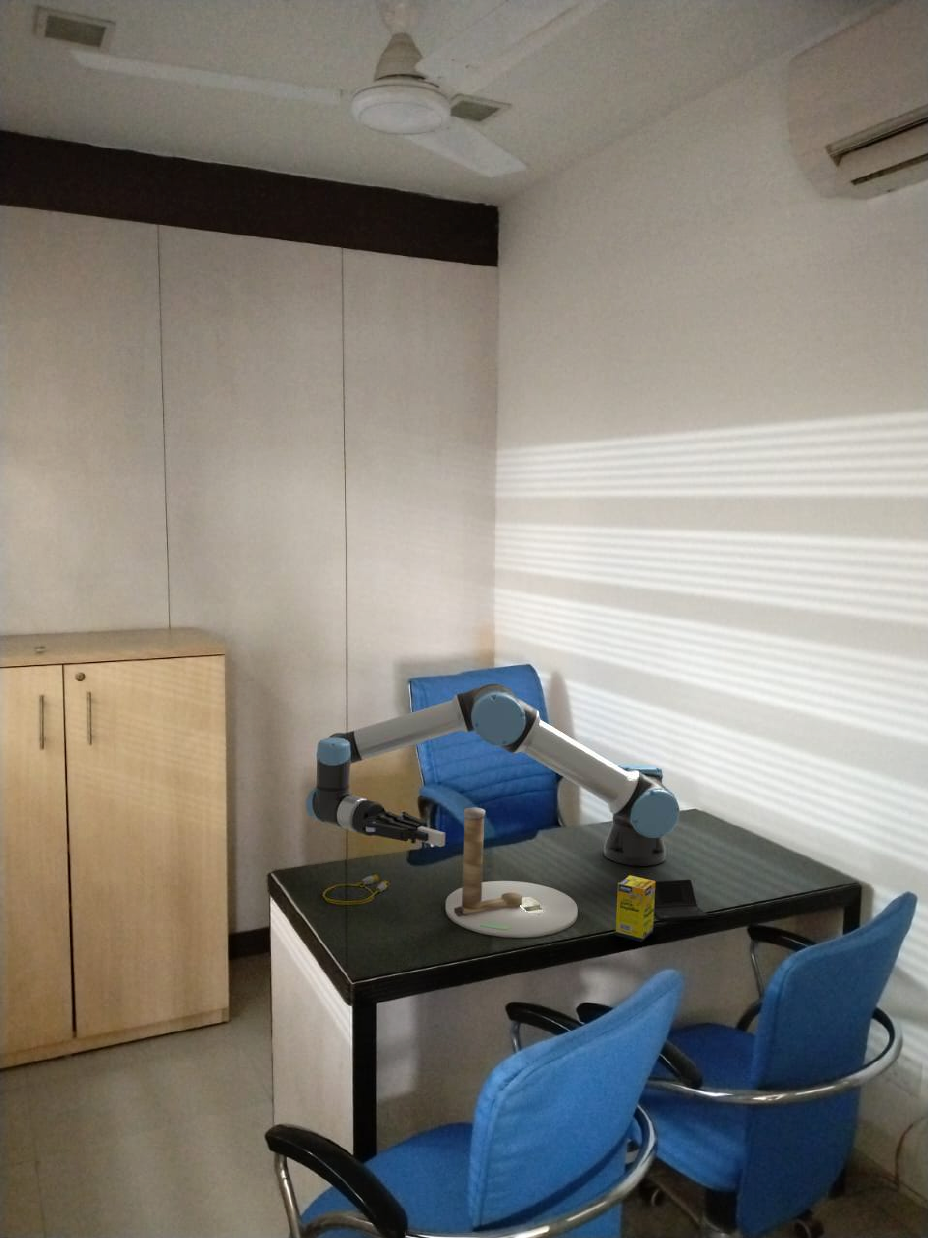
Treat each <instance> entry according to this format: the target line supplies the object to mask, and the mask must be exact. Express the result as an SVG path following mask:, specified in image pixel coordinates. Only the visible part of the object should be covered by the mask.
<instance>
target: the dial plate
mask: <svg viewBox="0 0 928 1238" xmlns="http://www.w3.org/2000/svg"><path fill="white" fill-rule="evenodd" d="M462 888H463V886H462V887H460V888H458V889H456V890H454V891H453V892H451V893H449V895H448V896H447V898H446V900H445V913H446V915H447V917H448V918H449V919H450V920H451V921H452V922H453V923H455V924H457V925H458V926H459V927H462V928H464V929H467V930H468V931H472V932H475V933H479V934H483V935H488V936H494V937H500V938H516V939H517V938H519V939H521V938H522V939H524V938H525V939H526V938H527V939H528V938H537V937H545V935H546V936H549V935H554V934H557V933H560V932H562V931H565V930H567V929H568V928H570V927H571V926H572V925H574V923H575V922H576V921H577V919H578V911H579V910H578V909H579V907H578V905H577V903H576V902H575V900H574V899H573V898H571V897H570V896H569V895H567V894H566V893H565V892H562V891H561V890H560V891H559V890H557V889H555V888H552V887H550V886H545V885H542V884H537V883H531V882H526V881H515V880H493V881H482V900H481V902H482V901H487V900H492V899H497V898H501V896H502V894H505V893H517V894H520V895H521V896H522V898H523V897H531V898H533V899H534V900H536V901H537V902H538V903H539V905H540V908H542V910H543V912H544V911H545V912H544V913H541V912H540V913H539V914H541V915H538V913H528V912H525V910H523V909H522V908H521V907H520V906H518V907H508V906H501V907H496V908H491V909H487V910H482V911H477V912H473V913H468V914H459V915H457V914H455V913H454V908H457V907H459V906H462ZM531 914H533V915H531ZM534 914H535V915H534Z"/></svg>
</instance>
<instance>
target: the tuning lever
mask: <svg viewBox="0 0 928 1238" xmlns="http://www.w3.org/2000/svg"><path fill="white" fill-rule="evenodd" d="M463 817H464V821H463V823H464V824H463V825H464V828H463V858H462V861H463V862H462V887H463V888H462V887H461V888H462V906H459V907H457V908H454V913H455V914H457V915H459V914H468V913H473V912H477V911H482V910H487V909H491V908H496V907H501V906H508V907H518V906H520V905H522V896H521V895H520V894H517V893H505V894H502V896H501V898H497V899H492V900H487V901H482V902H481V900H482V882H483V865H484V864H483V863H484V862H483V860H484V834H485V833H484V831H485V817H486V810H485V809H484V808H481V807H466V808H464V809H463Z"/></svg>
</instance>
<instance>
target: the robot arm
mask: <svg viewBox="0 0 928 1238" xmlns="http://www.w3.org/2000/svg"><path fill="white" fill-rule="evenodd" d="M460 731H463V732H465V733H471V732H473V731H475V733H476V735H477V736H479V738H480V739H481V740H483V741H484V742H486V743H488V744H491V745H493V746H499V747H501V748H502V749H504V750H505V751H507V752H509V753H510V754H516V753H523V754H525V755H527V756H528V757H530V758H532V759H533V760H535V761H537V762H538V763H540V764H541V765H543V766H544V767H546V768H549V769H550V770H552V771H553V772H555V773H557V774H558V775H560V776H562V777H563V778H565V779H566V780H568V781H570V782H571V783H572V784H575V785H577V786H578V787H579V788H581V789H583V790H585V791H586V792H588V793H590V794H592V795H594V797H596V798H598V799H600V800H601V801H603V802H605V803H606V804H607V807H608V810H609V813H611V814H612V823H611V825H610V829H609V832H608V834H607V837H606V840H605V842H604V846H603V854H604V857H605V858H607V859H609V861H610V860H611V861H612V862H615V863H618V864H622V865H626V866H639V867H640V866H641V867H642V866H643V867H646V866H654V865H658V864H661V863H663V862H664V861H666V855H667V854H666V851H667V850H666V846H665V843H664V839H663V837H664V836H667V835H668V834H669V833H670V832H672V830H674V829H675V827H676V825H677V824H678V821H679V818H680V806H679V803H678V800H677V798H676V796H675V795H674V793H673V792H671V791H670V790H669V789H668V788H667V787H666V786H665V785H664V784H663V778H664V775H663V769H662V767H660V766H657V765H652V764H644V763H643V764H642V763H625V764H624V763H623V764H619V765H616V764H614V763H613V762H611V761H609V760H608V759H606V758H604V757H603V756H601V755H599V754H598V753H596V752H595V751H593V750H591V748H588V747H586V746H585V745H583V744H581V743H580V742H578V741H577V740H575V739H573V738H571V737H570V736H568V735H567V734H565V733H563V732H562V731H560V730H558V729H556V728H555V727H553V726H552V725H550V724H548V723H547V722H545V721H543V720H542V719H541V717H540V712H539V710H538V709H536V708H535V707H533V706H531V705H530V704H528V703H527V702H525V701H524V700H522V699H520V698H518V697H517V696H516V695H515V693H514V692H513V691H512V690H511V689H510V688H509V687H508V686H507V685H503V684H501V683H487V684H483V685H480V686H477V687H475V688H472V689H469V690H467V691H464V692H460V693H456V694H455V695H454V697H453V698H452V700H448V701H446V702H442V703H439V704H438V703H437V704H436V705H431V706H430V707H429V706H428V707H426V708H423V709H419V710H417V711H413V712H410V713H406V714H403V715H400V716H397V717H393V718H391V719H387V720H384V721H380V722H377V723H375V724H370V725H367V726H363V727H361V728H357V729H355V730H353V731H349V732H345V733H344V732H335V733H333V734H331V735H329V736H328V737H326V738H322V739H320V740H319V741H318V743H317V751H316V785H315V786H316V787H314V788H312V789H311V790H310V791H309V793H308V794H307V798H306V800H305V810H306V813H307V814H308V816H310V817H311V818H313V819H316V820H317V821H319V822H321V823H327V824H331V825H334V826H337V827H341V828H343V829H346V830H350V832H351V833H354V832H357V833H359V834H361V835H365V836H368V837H372V836H374V837H375V836H376V837H380V838H381V837H382V838H386V839H392V840H397V841H401V842H402V841H403V842H407V841H409V840H410V843H411V844H416V842H417V841H419V842H423V843H426V844H430V845H433V846H436V847H439V848H441V847H444V846H446V832H443V831H440V830H437V829H434V828H429V827H428V823H427V822H426V821H423V820H421V819H419V818H416V817H415V816H413V815H410V814H409V812H407V811H402V812H401V814H400V815H398V814H395V813H393V812H392V811H391V812H390V811H386V810H385V807H384V806H383V805H382V804H381V803H380V802H377V801H373V800H371V799H370V800H369V799H367V798H364V797H360V796H357V795H353V794H350V775H351V774H350V773H351V771H350V770H351V765H352V764H355V763H359V762H361V761H365V760H367V759H371V758H374V757H377V756H380V755H384V754H386V753H387V754H388V753H390V752H394V751H397V750H400V749H404V748H408V747H409V746H413V745H417V744H421V743H423V742H427V741H430V740H434V739H435V738H439V737H442V736H446V735H449V734H453V733H455V732H460ZM416 840H417V841H416Z"/></svg>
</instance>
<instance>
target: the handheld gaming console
mask: <svg viewBox="0 0 928 1238" xmlns="http://www.w3.org/2000/svg"><path fill="white" fill-rule="evenodd" d="M655 882H656V883H655V900H654V918H656V919H657V920H658V922H661V923H663V922H677V921H678V922H679V921H695V920H702V919H703V920H708V914H707V913H706V912H705V911H703V910H702V909H701V908H700V907H699V905H698V904H697V900H696V896H695V892H694V886H693V883H692V880H691V879H675V880H659V881H655Z"/></svg>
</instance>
